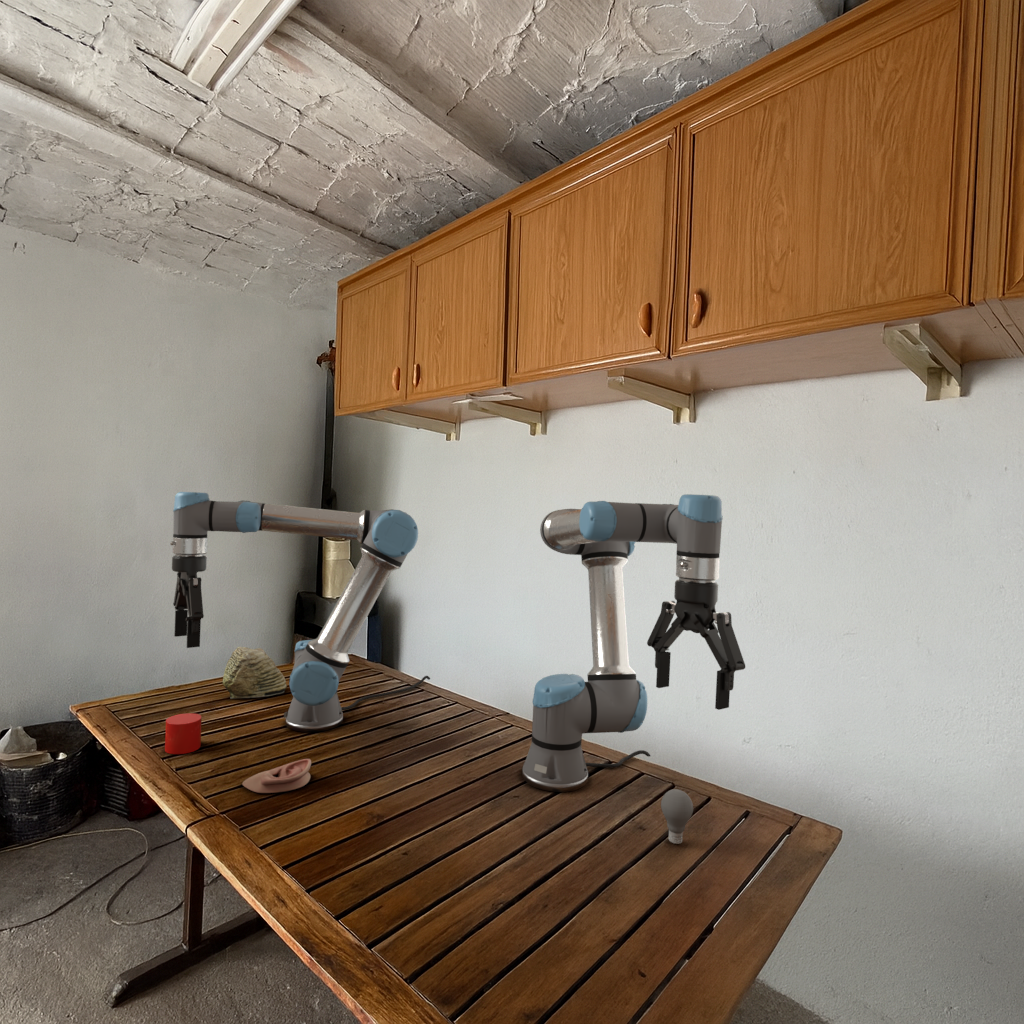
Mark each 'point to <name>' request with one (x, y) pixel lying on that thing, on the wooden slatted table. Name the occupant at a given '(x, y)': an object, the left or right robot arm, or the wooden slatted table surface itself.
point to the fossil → (252, 674)
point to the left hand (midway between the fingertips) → (186, 641)
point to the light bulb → (676, 813)
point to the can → (183, 733)
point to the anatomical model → (280, 778)
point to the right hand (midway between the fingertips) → (690, 697)
